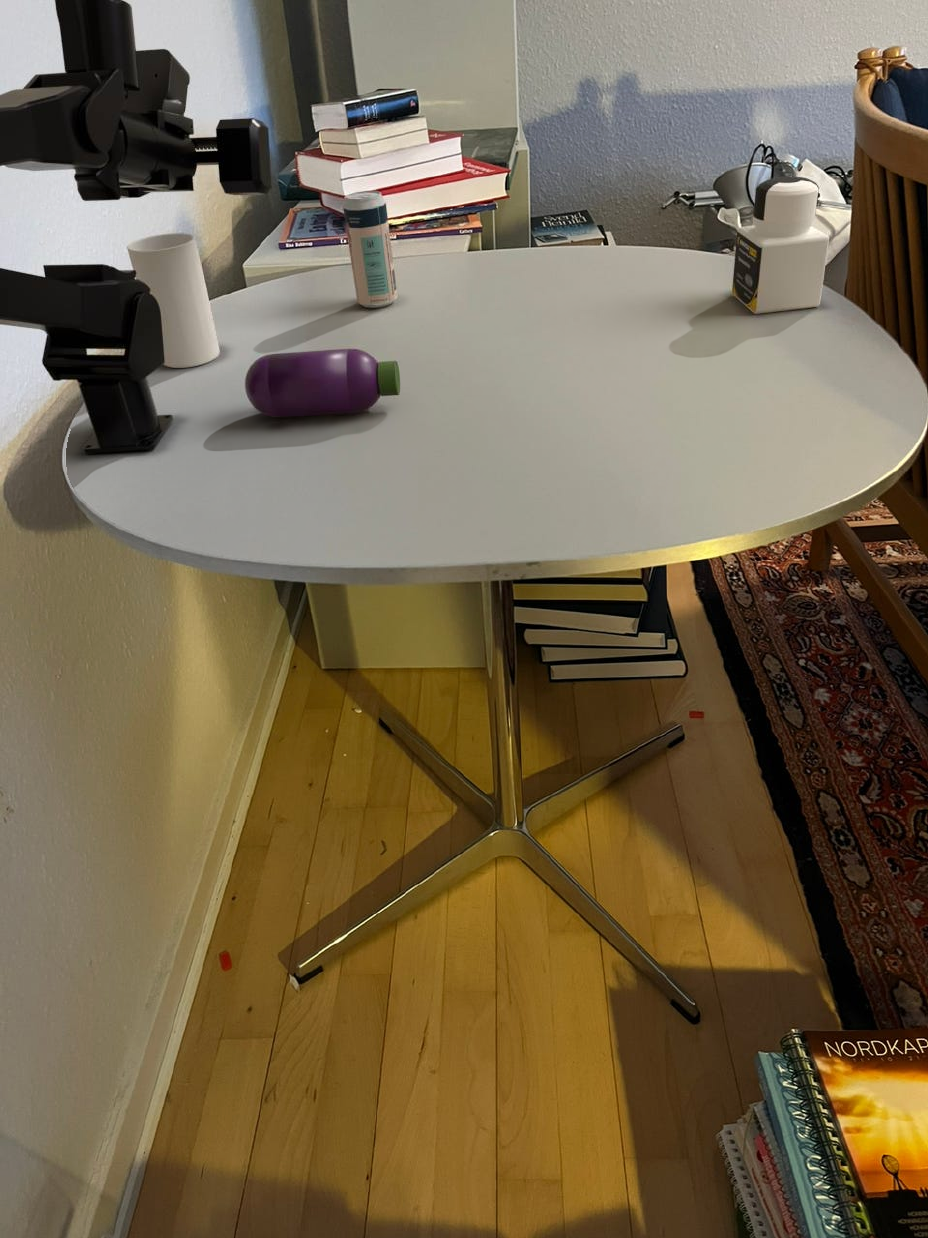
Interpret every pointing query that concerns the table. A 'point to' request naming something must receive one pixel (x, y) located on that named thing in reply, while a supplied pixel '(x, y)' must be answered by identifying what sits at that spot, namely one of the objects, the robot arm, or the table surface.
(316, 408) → the eggplant
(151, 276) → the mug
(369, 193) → the pink upright cylinder
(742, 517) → the table surface
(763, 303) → the medicine bottle
